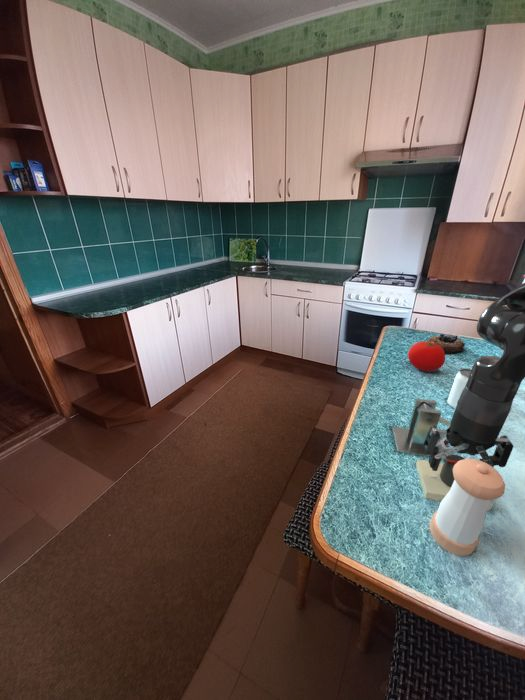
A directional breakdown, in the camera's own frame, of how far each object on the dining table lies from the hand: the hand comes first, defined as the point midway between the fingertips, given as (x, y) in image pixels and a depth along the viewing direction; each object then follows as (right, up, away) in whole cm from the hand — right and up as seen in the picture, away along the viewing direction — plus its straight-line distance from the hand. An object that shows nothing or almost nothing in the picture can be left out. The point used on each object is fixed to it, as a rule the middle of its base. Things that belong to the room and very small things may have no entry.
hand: (455, 471), depth 61 cm
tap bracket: (-1, +1, +14) cm, 14 cm away
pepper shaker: (-5, -10, -7) cm, 13 cm away
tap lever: (+3, +7, +10) cm, 13 cm away
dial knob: (0, -2, +1) cm, 3 cm away
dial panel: (0, -5, +3) cm, 6 cm away
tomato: (+20, +19, +49) cm, 56 cm away
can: (+20, +8, +28) cm, 35 cm away
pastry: (+38, +26, +63) cm, 78 cm away
